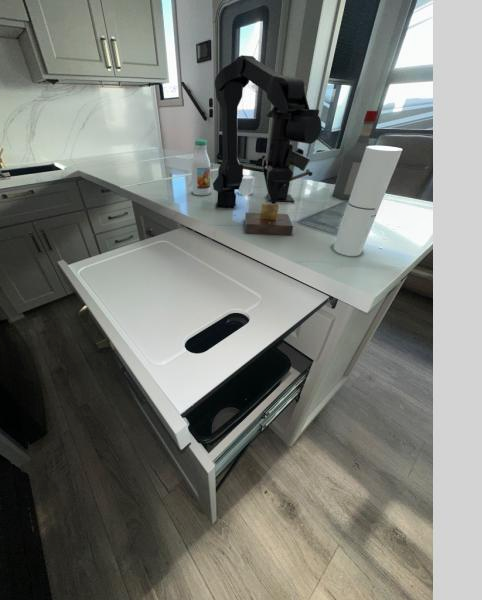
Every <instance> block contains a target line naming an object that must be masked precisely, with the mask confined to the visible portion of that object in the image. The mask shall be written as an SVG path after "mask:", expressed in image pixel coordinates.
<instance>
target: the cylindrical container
mask: <svg viewBox="0 0 482 600" xmlns="http://www.w3.org/2000/svg"><path fill="white" fill-rule="evenodd" d="M402 152H403V148H401V147H396V146H390V145H370V146H367V147H366V150H365V153H364V156H363V159H362V162H361V165H360V168H359V171H358V174H357V177H356V180H355V183H354V186H353V189H352V192H351V195H350V198H349V201H348V202H347V205H346V208H345V211H344V214H343V217H342V219H341V223H340V227H339V229H338V233H337V235H336V238H335V242H334V245H333V251H335V252H336V253H337V254H340V255H343V256H347V257H356V256H360V255H361V254H362V251H363V249H364V247H365V244H366V242H367V239H368V236H369V234H370V231H371V230H372V226H373V224H374V222H375V219H376V217H377V215H378V211H379V209H380V207H381V205H382V203H383V200H384V198H385V194H386V192H387V189H388V187H389V184H390V182H391V179H392V177H393V175H394V172H395V170H396V168H397V165H398V162H399V160H400V158H401V154H402Z"/></svg>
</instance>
